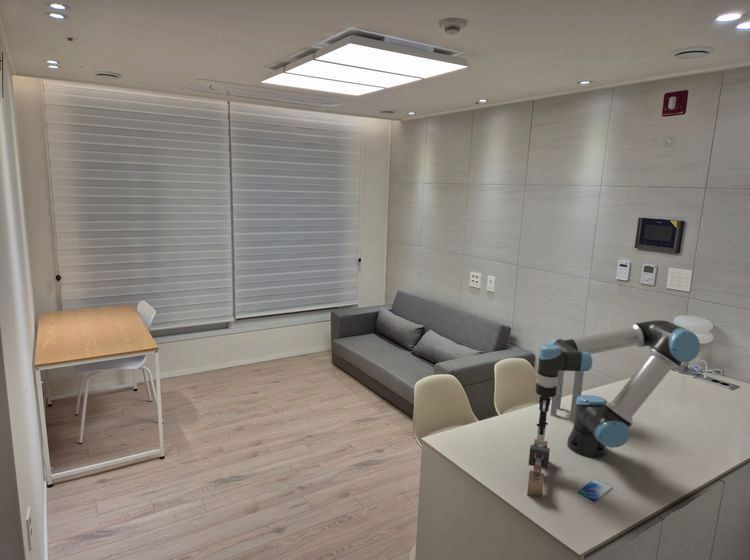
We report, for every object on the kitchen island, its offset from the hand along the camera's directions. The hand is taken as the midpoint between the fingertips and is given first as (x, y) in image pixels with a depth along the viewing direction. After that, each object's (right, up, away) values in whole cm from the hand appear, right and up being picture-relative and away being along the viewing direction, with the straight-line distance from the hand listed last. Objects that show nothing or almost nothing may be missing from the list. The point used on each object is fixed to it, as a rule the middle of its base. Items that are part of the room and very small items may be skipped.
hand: (540, 440), depth 189 cm
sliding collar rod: (-3, -12, -6) cm, 14 cm away
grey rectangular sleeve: (-2, -8, -5) cm, 10 cm away
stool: (+29, -3, +47) cm, 55 cm away
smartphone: (+15, -14, -14) cm, 25 cm away
